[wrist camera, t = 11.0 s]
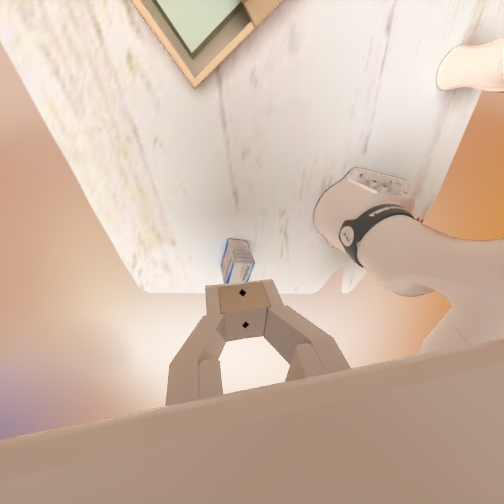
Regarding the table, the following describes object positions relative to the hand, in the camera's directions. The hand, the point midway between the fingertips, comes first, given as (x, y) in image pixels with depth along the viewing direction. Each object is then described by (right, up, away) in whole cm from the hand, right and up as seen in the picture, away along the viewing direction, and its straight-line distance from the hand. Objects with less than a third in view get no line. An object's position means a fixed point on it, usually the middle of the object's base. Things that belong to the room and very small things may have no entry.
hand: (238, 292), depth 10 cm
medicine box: (-4, +2, +41) cm, 41 cm away
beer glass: (+36, +34, +28) cm, 57 cm away
